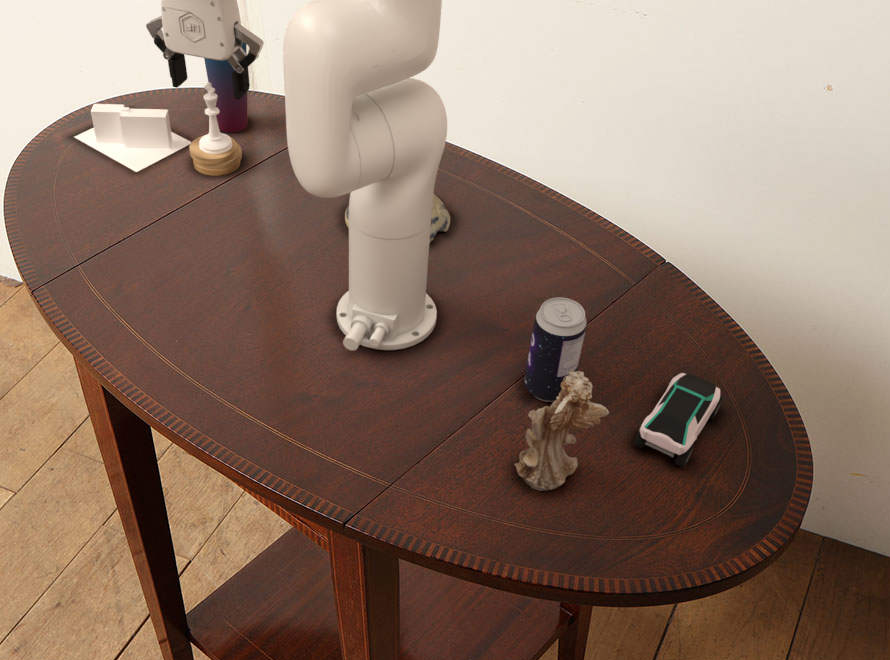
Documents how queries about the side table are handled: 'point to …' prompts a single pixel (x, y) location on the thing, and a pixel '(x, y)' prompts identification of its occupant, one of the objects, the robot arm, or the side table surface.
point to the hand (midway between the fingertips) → (210, 89)
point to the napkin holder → (132, 135)
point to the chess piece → (213, 127)
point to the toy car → (680, 417)
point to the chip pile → (215, 159)
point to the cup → (227, 95)
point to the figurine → (558, 433)
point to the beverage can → (554, 346)
